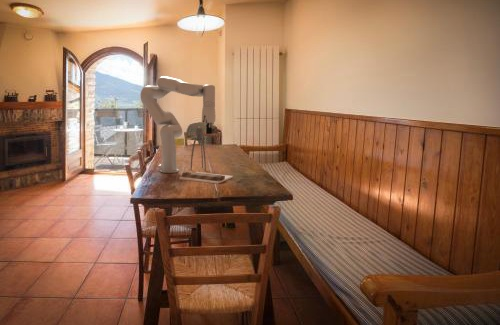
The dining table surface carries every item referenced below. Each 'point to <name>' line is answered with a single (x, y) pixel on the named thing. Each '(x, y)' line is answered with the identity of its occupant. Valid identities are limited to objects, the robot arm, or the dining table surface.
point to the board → (207, 180)
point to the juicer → (199, 135)
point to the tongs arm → (211, 174)
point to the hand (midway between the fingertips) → (209, 133)
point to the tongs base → (201, 176)
